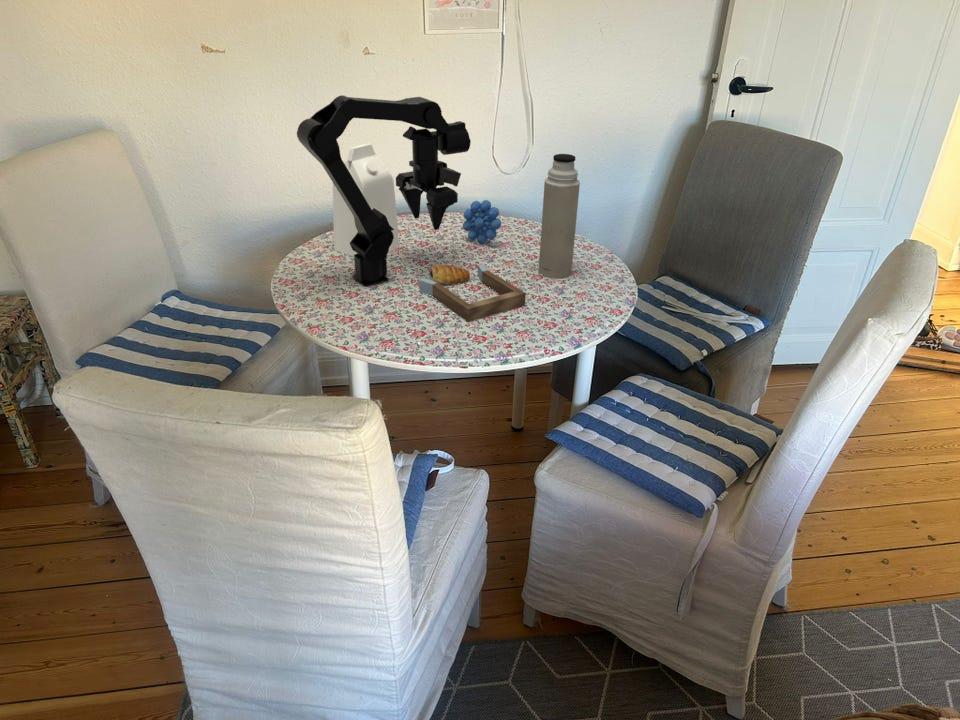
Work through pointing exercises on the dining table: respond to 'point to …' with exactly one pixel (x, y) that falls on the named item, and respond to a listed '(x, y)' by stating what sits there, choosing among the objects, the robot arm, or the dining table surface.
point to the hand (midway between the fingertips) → (426, 223)
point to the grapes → (481, 221)
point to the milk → (375, 190)
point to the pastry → (448, 274)
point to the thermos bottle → (559, 218)
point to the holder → (469, 312)
